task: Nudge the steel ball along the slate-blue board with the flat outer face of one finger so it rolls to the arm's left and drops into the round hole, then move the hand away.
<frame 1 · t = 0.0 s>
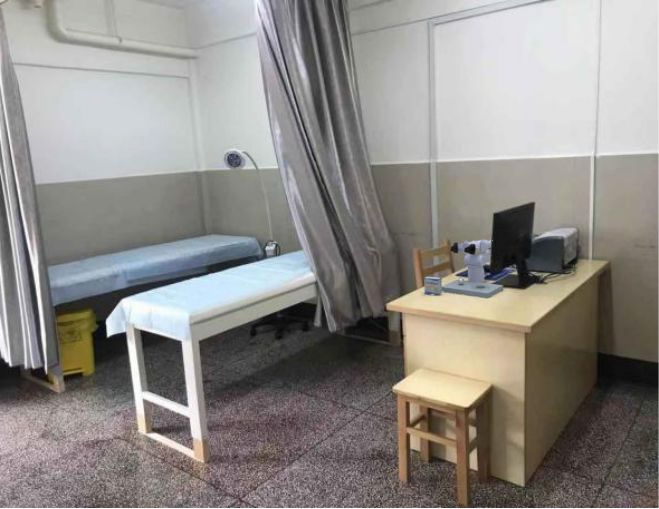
hand: (458, 249, 281), 22 cm above the table, tool horizontal, fingers open, 7 cm apart
deck: (471, 290, 284), on the table
medicine box: (433, 294, 281), on the table
ball: (461, 281, 287), point 4 cm above the table, touching deck
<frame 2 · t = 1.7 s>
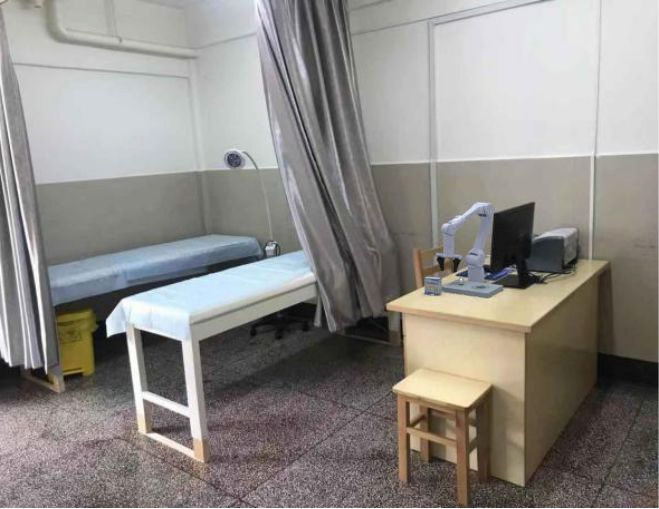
hand: (448, 271, 290), 9 cm above the table, tool pointing down, fingers open, 7 cm apart
nothing on the table moved.
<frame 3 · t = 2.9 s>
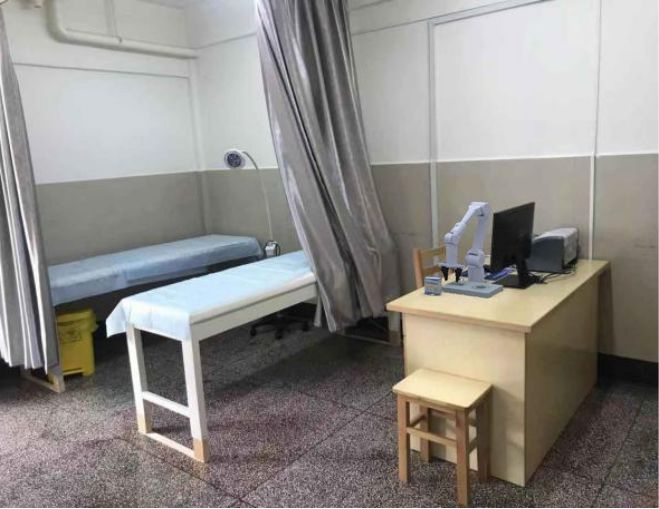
hand: (451, 281, 290), 4 cm above the table, tool pointing down, fingers open, 6 cm apart
ball: (461, 281, 287), point 4 cm above the table, touching deck, gripper
everything else where it was.
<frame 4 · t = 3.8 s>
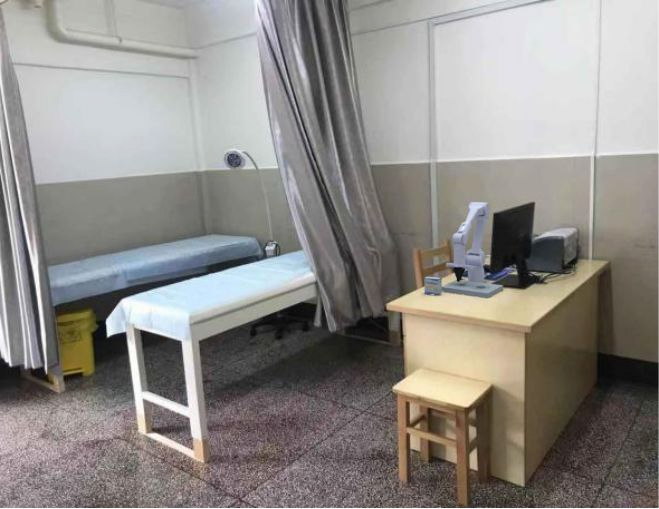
hand: (459, 281, 287), 4 cm above the table, tool pointing down, fingers closed, pressing on ball
ball: (462, 281, 286), point 4 cm above the table, tilted 28°, touching deck, gripper
everything else where it was.
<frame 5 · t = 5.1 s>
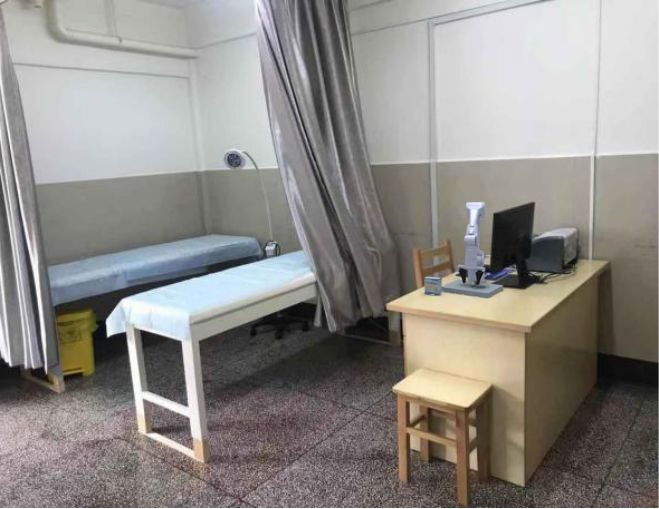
hand: (471, 283, 283), 4 cm above the table, tool pointing down, fingers open, 7 cm apart
ball: (473, 282, 282), point 4 cm above the table, tilted 105°, touching deck
everything else where it was.
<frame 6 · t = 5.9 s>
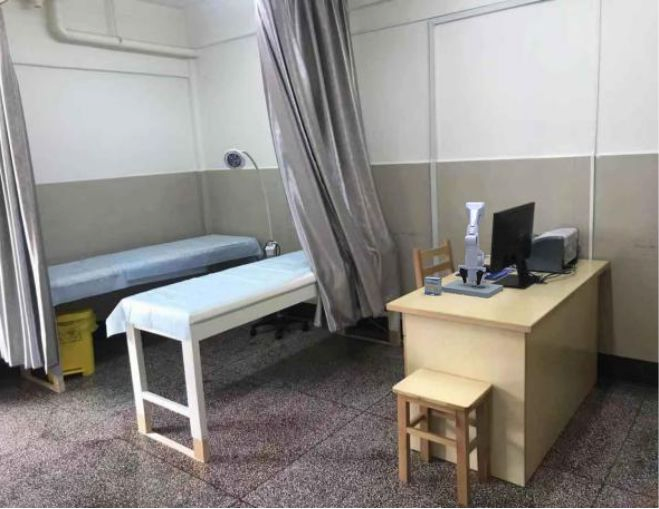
hand: (471, 283, 283), 4 cm above the table, tool pointing down, fingers open, 7 cm apart
ball: (474, 283, 282), point 4 cm above the table, tilted 77°, touching deck, gripper
everything else where it was.
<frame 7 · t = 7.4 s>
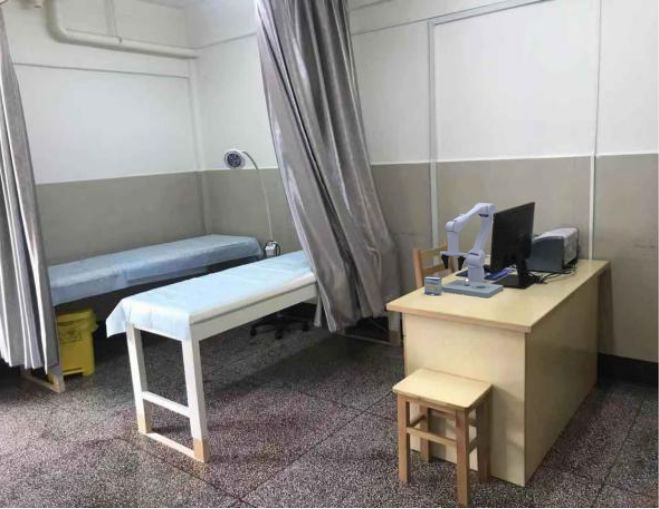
hand: (453, 269, 289), 10 cm above the table, tool pointing down, fingers open, 7 cm apart
ball: (466, 282, 285), point 4 cm above the table, tilted 145°, touching deck
everything else where it was.
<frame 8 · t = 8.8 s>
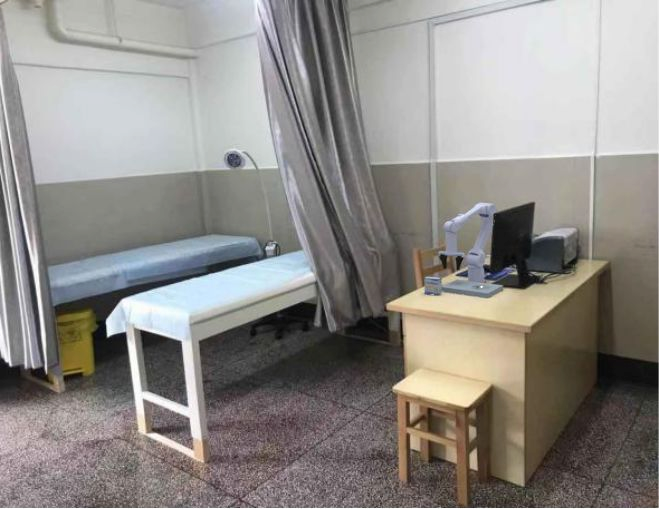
hand: (451, 269, 290), 10 cm above the table, tool pointing down, fingers open, 7 cm apart
ball: (481, 288, 280), point 2 cm above the table, tilted 90°
everything else where it was.
at the end: ball 0.6 cm from the target spot in the deck, point 1.7 cm above the deck's base; ball point 1.7 cm above the table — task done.
